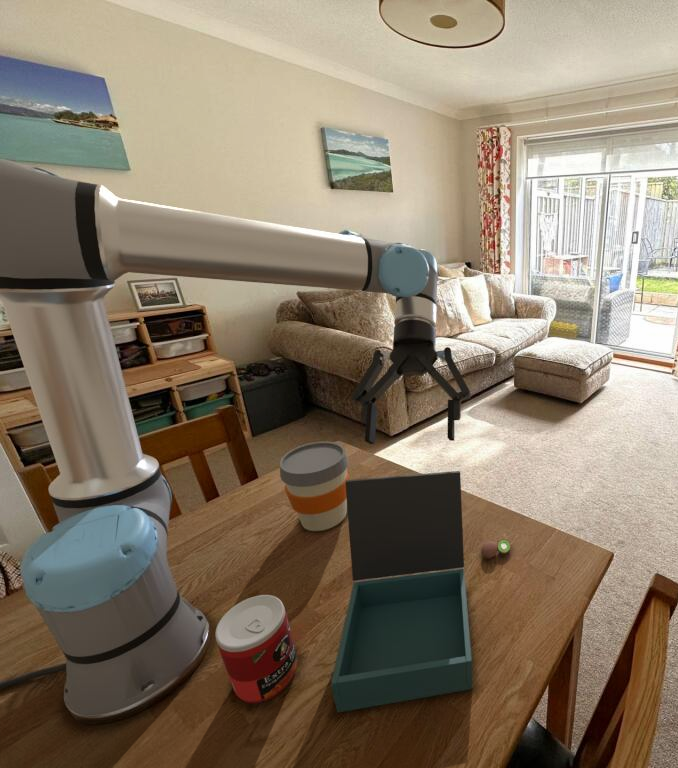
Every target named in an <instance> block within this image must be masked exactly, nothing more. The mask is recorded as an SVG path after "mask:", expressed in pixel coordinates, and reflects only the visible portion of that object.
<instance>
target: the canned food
mask: <svg viewBox="0 0 678 768" xmlns="http://www.w3.org/2000/svg"><path fill="white" fill-rule="evenodd" d="M287 615H288V614H287V612H286V608H285V606H284V604H283V602H282V600H281V599H280V598H278V597H276V596H275V595H270V594H261V595H256V596H253V597H249V598H247V599H246V598H245V599H244V600H241V601H240V602H239V603H237V604H235V605H233V606H232V607H231V608H230V609H229V610H228V611H226V613H224V614H223V616H222V617H221V619H220V620H219V621H218V623H217V626H216V629H215V641H216V644H217V648H218V651H219V653H220V655H221V659H222V662H223V665H224V667H225V670H226V673H227V675H228V678H229V680H230V683H231V685H232V689H233V691H234V694H235V695H236V696H237V698H239V699H241V701H244V702H245V703H249V704H259V703H264V702H266V701H268V700H270V699H273V698H275V697H276V696H278V695H279V694H280V693H282V692H283V690H284V689H286V688H287V686H288V685H289V684H290V683H291V681H292V680H293V678H294V676H295V673H296V670H297V667H298V666H297V665H298V655H297V651H296V647H295V643H294V640H293V636H292V632H291V631H292V630H291V627H290V622H289V619H288V616H287Z"/></svg>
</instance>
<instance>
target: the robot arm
mask: <svg viewBox="0 0 678 768" xmlns="http://www.w3.org/2000/svg"><path fill="white" fill-rule="evenodd" d="M128 273H134V274H144V275H145V274H146V275H159V276H171V277H182V278H185V277H186V278H195V279H206V280H207V279H209V280H221V281H222V280H223V281H233V282H245V283H259V284H261V283H262V284H272V285H283V286H297V287H309V288H322V289H324V288H325V289H335V290H349V291H359V292H365V293H366V292H367V293H379V294H389V295H391V296H392V297H395V309H394V320H393V323H394V327H393V339H392V341H393V342H392V349H391V351H390V352H383V351H381V350H380V349H376V350H375V351H374V352H373V356H372V361H371V363H370V364H369V366H368V368H367V370H366V371H365V373H364V374H363V376H362V377H361V380H360V381H359V382H358V384H357V386H356V388H355V389H354V391H353V392H352V394H351V397H350V398H351V399H352V400H353V401H354V402H355V403H357V404H358V405H361V414H360V421H361V423H362V424H364V425H365V431H364V442H366V443H367V444H369V445H375V443H376V433H377V431H376V430H377V418H378V406H376V405H375V404H376V402H377V401H378V400H379V399H381V397H382V396H383V395H384V394H385V393H386V392H387V391H388V390H389V388H390V387H391V386H393V384H394V383H395V382H396V381H397V380H400V379H401V377H402V376H404V377H407V378H408V377H413V376H416V377H424V375H426V374H428V375H429V376H430V377H431V378H432V379H433V380H434V381H435V383H437V385H438V386H440V387H441V389H442V390H443V391H444V392H445V394H447V395H448V397H450V398H451V399H447V433H446V435H447V439H448V440H449V441H450V442H453V441H455V421H460V420H461V418H462V417H461V416H462V414H461V413H462V409H461V408H462V402H463V401H466V400H470V399H471V398H472V394H471V391H470V389H469V387H468V385H467V383H466V381H465V380H464V378H463V376H462V374H461V372H460V371H459V368H458V367H457V365H456V363H455V361H454V354H453V351H452V349H451V347H449V346H446V347H445V348H444V349H441V350H437V349H436V342H437V341H436V339H437V338H436V336H437V335H436V334H437V331H436V327H437V299H438V298H437V297H438V295H437V294H438V281H439V276H438V275H439V274H438V264H437V260H436V257H435V256H434V255H433V254H432V253H431V252H430V251H428V250H426V249H424V248H420V249H418V248H416V247H414V246H411V245H410V244H407V243H403V242H391V241H385V240H380V239H379V240H378V239H372V238H369V237H367V236H365V235H363V234H362V233H358V232H355V231H352V230H350V229H342V230H340V231H339V232H338V233H335V232H329V231H323V230H316V229H310V228H304V227H299V226H291V225H286V224H279V223H274V222H268V221H261V220H254V219H247V218H242V217H238V216H237V217H236V216H230V215H225V214H219V213H211V212H205V211H199V210H194V209H187V208H182V207H181V208H180V207H175V206H168V205H164V204H163V205H162V204H156V203H150V202H143V201H139V200H132V199H125V198H120V197H119V196H116V194H114V193H113V192H112V191H110V190H109V189H108V188H107V187H106V186H104V185H102V184H97V183H90V182H85V181H80V180H77V179H70V178H65V177H62V176H60V175H58V174H55V173H53V172H51V171H49V170H46V169H42V168H40V167H35V166H29V165H25V164H21V163H19V162H15V161H12V160H8V159H5V158H0V302H1V303H2V306H3V308H4V312H5V315H6V318H7V320H8V321H7V322H8V323H9V328H10V329H11V332H12V335H13V338H14V341H15V344H16V348H17V351H18V353H19V356H20V359H21V362H22V365H23V367H24V371H25V374H26V377H27V379H28V383H29V386H30V388H31V391H32V394H33V397H34V401H35V403H36V406H37V409H38V413H39V416H40V418H41V421H42V424H43V427H44V430H45V433H46V435H47V439H48V441H49V444H50V448H51V450H52V453H53V457H54V460H55V463H56V465H57V469H58V471H59V475H57V476H56V478H55V479H53V480H52V481H51V482H50V484H49V485H48V494H49V496H50V500H51V502H52V505H53V508H54V511H55V514H56V517H57V520H58V523H56V525H54V526H53V527H52V530H51V531H49V532H45V533H43V534H41V535H40V536H39V537H38V538H37V539H35V540H34V542H32V544H31V545H30V546H29V547H28V549H27V550H26V552H25V553H24V555H23V557H22V559H21V563H20V567H19V568H20V569H19V571H20V578H21V580H22V586H23V588H24V590H25V596H26V597H27V598H28V599H29V601H30V602H32V604H33V605H34V606H35V608H36V610H37V611H38V613H39V615H40V617H41V619H42V620H43V622H44V623H45V626H46V627H47V628H48V630H49V631H50V633H51V635H52V637H53V638H54V640H55V642H56V643H57V646H58V647H59V648H60V650H61V652H62V653H63V655H64V657H65V659H66V661H65V663H62V664H58V665H55V666H50V667H46V668H43V669H39V670H35V671H31V672H29V673H25V674H22V675H19V676H16V677H12V678H9V679H6V680H3V681H0V690H1V689H4V688H8V687H10V686H13V685H17V684H20V683H23V682H26V681H30V680H33V679H37V678H40V677H44V676H49V675H52V674H56V673H60V672H64V671H66V678H65V679H66V680H65V683H64V687H63V688H64V689H63V701H64V704H65V706H66V708H67V710H68V711H69V713H70V715H71V716H72V717H73V718H74V719H75V720H76V721H78V722H80V723H83V724H87V725H103V724H109V723H113V722H118V721H120V720H124V719H127V718H129V717H131V716H134V715H136V714H138V713H140V712H142V711H144V710H146V709H148V708H150V707H151V706H153V705H155V704H156V703H158V702H160V701H161V700H162V699H164V698H165V697H166V696H168V695H169V694H171V693H172V692H173V691H175V690H176V689H177V688H178V687H179V686H180V685H181V684H183V682H184V681H185V680H187V679H188V677H189V676H190V675H191V674H193V672H194V671H195V670H196V669H197V667H198V666H199V664H201V662H202V660H203V658H204V657H205V655H206V653H207V651H208V648H209V647H210V643H211V635H212V633H211V628H210V624H209V621H208V619H207V617H206V615H205V614H204V613H203V612H202V611H201V610H199V609H198V608H197V607H195V606H194V605H192V604H191V602H189V601H188V600H186V599H185V598H184V597H182V596H181V595H180V592H179V590H178V587H177V583H176V582H175V579H174V576H173V574H172V572H171V569H170V566H169V561H168V556H167V554H168V553H167V551H168V536H169V526H170V514H171V513H170V512H171V508H172V507H171V506H172V503H173V498H172V497H173V496H172V495H173V494H172V491H171V487H170V485H169V483H168V480H166V478H165V477H164V476H163V475H162V470H161V467H160V463H159V462H158V461H159V460H157V459H156V458H155V457H154V456H151V455H148V454H145V453H143V449H142V446H141V442H140V437H139V434H138V431H137V426H136V422H135V418H134V415H133V409H132V406H131V403H130V398H129V395H128V391H127V386H126V382H125V380H124V379H125V378H124V375H123V371H122V368H121V363H120V360H119V356H118V351H117V347H116V344H115V339H114V335H113V333H112V329H111V328H112V327H111V323H110V320H109V316H108V312H107V309H106V304H105V301H104V298H105V296H106V295H107V294H108V293H109V292H111V290H112V289H113V288H115V286H116V282H115V281H116V280H118V279H120V278H121V277H122V276H124V275H126V274H128ZM438 359H440V361H441V362H442V363H445V364H446V365H447V367H448V369H449V371H450V373H451V375H452V377H453V379H454V381H455V383H456V384H457V386H458V389H459V390H460V391H457V390H456V389H455V388H454V387H453V386H452V385H451V384H450V383H449V382H448V381H447V379H446V378H444V377H443V375H442V374H441V373H440V372H439V370H437V369H436V368H435V366H434V364H435V363H436V362H437V361H438ZM389 361H391V362H392V364H391V365H390V366H389V367H388V369H387V371H386V372H385V373H384V374H383V375H382V376H381V377H380V378H379V379H378V377H379V376H380V375H381V372H382V371H383V368H384V366H386V365H387V364H388V362H389ZM377 379H378V381H377ZM376 381H377V382H376ZM375 382H376V383H375Z"/></svg>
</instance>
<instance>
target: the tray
mask: <svg viewBox="0 0 678 768" xmlns="http://www.w3.org/2000/svg"><path fill="white" fill-rule="evenodd" d="M465 577H466V575H465V568H455V569H446V570H438V571H430V572H422V573H414V574H405V575H397V576H389V577H381V578H373V579H364V580H356V581H353V583H352V588H351V593H350V596H349V597H350V598H349V602H348V606H347V611H346V615H345V620H344V625H343V628H342V633H341V636H340V641H339V647H338V651H337V655H336V658H335V659H336V660H335V664H334V669H333V673H332V676H331V680H330V681H331V682H330V685H331V691H332V695H333V699H334V703H335V709H336V712H337V713H343V712H344V713H345V712H349V711H355V710H360V709H367V708H371V707H377V706H383V705H390V704H396V703H400V702H405V701H407V702H408V701H413V700H417V699H424V698H430V697H434V696H435V697H436V696H441V695H447V694H452V693H458V692H463V691H464V692H465V691H469V690H473V660H472V659H473V658H472V657H473V656H472V646H471V633H470V623H469V611H468V599H467V587H466V578H465Z"/></svg>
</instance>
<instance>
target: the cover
mask: <svg viewBox="0 0 678 768" xmlns="http://www.w3.org/2000/svg"><path fill="white" fill-rule="evenodd" d="M461 482H462V481H461V470H455V471H454V470H453V471H441V472H429V473H416V474H407V475H406V474H405V475H403V474H402V475H392V476H380V477H368V478H367V477H366V478H353V479H349V480H346V482H345V484H346V497H347V522H348V534H349V547H350V548H349V549H350V559H351V562H350V563H351V571H352V572H351V575H352V581H353V582H357V581H365V580H373V579H381V578H389V577H398V576H406V575H414V574H422V573H430V572H438V571H447V570H455V569H464V568H465V557H464V555H465V554H464V530H463V508H462V506H463V505H462V483H461Z"/></svg>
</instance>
